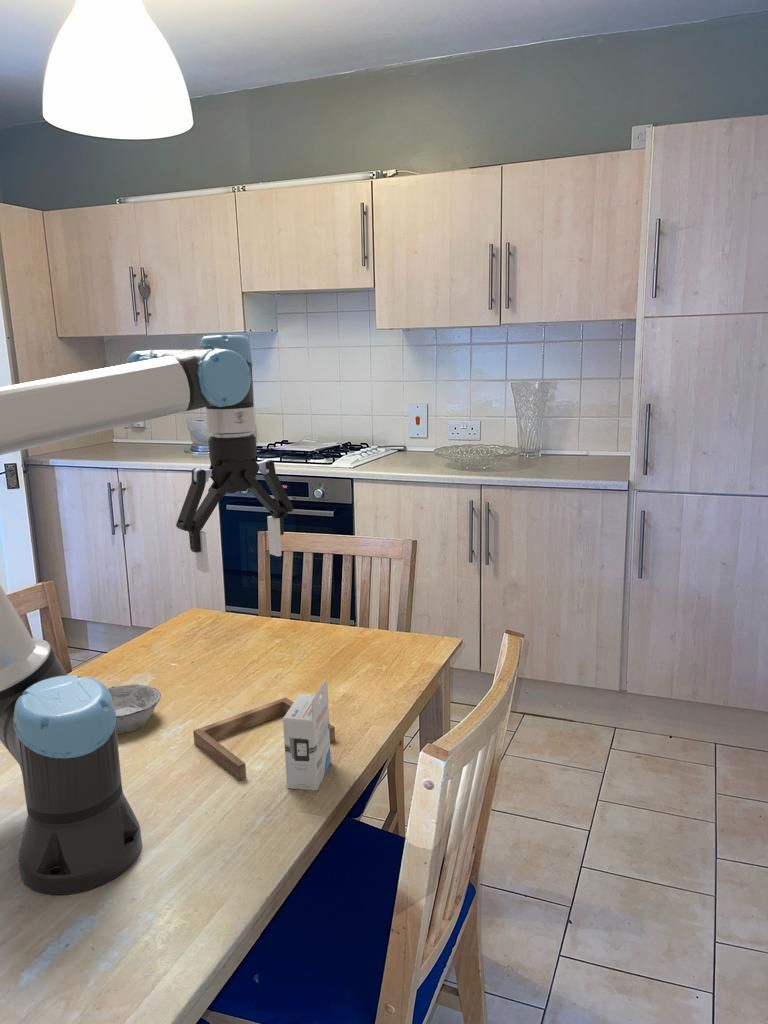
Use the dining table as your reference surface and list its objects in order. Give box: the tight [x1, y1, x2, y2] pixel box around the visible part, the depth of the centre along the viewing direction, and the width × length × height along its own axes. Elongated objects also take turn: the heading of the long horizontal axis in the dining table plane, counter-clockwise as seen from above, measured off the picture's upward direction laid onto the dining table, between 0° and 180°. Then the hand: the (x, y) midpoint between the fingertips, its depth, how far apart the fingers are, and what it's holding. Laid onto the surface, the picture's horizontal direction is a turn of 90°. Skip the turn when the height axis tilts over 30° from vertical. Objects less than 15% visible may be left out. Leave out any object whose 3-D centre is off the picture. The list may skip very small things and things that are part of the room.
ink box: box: [282, 678, 331, 791], centre depth 120 cm, size 9×5×15 cm, turn 169°
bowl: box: [107, 683, 162, 735], centre depth 140 cm, size 13×13×5 cm
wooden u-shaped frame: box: [192, 697, 336, 781], centre depth 132 cm, size 18×15×2 cm
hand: (240, 562), depth 129 cm, fingers open, 13 cm apart
